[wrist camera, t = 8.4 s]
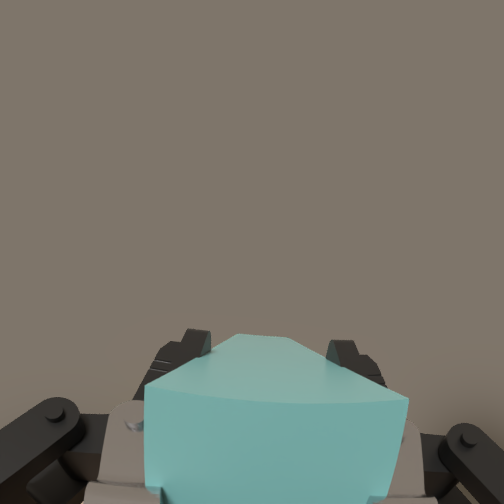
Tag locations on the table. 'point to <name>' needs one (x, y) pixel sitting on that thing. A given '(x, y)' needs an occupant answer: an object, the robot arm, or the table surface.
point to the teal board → (269, 428)
